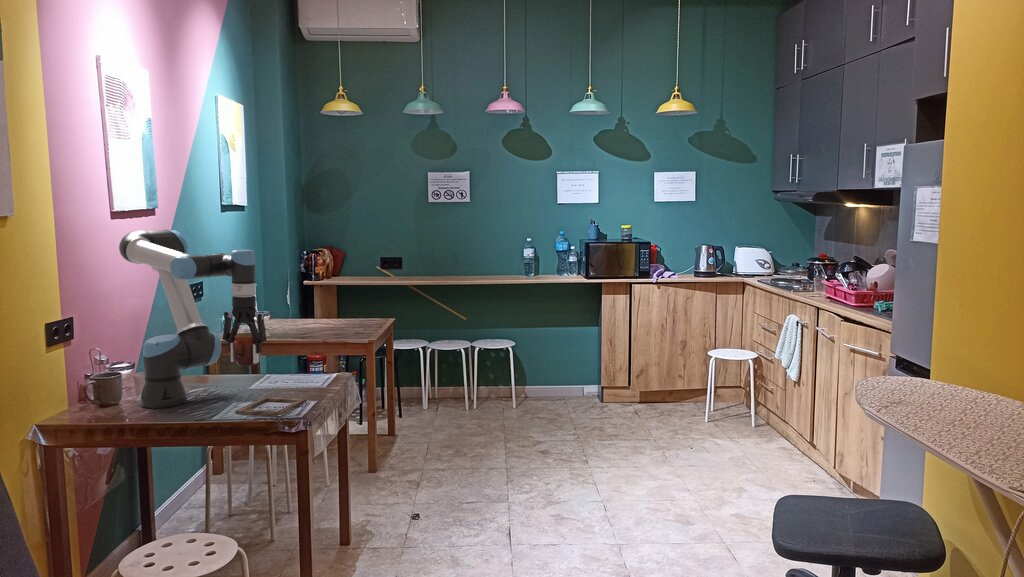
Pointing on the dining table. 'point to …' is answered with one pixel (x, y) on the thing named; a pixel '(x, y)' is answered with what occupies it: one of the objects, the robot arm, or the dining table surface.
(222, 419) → the dining table surface
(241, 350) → the mug
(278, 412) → the frame
